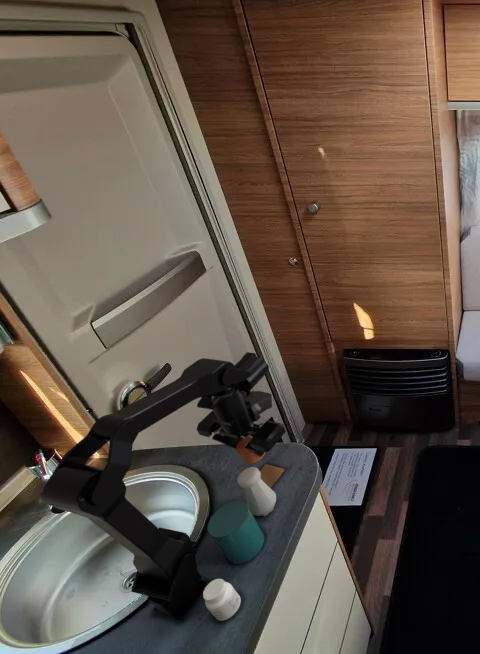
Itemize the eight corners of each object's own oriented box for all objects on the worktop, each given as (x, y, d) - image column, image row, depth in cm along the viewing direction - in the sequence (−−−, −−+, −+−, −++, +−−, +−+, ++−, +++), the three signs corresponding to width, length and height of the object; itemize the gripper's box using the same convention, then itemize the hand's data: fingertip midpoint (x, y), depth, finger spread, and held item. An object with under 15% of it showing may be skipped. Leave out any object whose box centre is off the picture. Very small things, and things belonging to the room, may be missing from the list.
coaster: (268, 490, 99) (268, 489, 99) (249, 485, 101) (248, 484, 100) (284, 470, 104) (284, 469, 104) (266, 464, 105) (265, 463, 105)
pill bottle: (237, 588, 82) (223, 569, 78) (244, 607, 80) (230, 589, 76) (212, 607, 80) (196, 588, 76) (218, 627, 77) (203, 609, 73)
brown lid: (255, 466, 95) (249, 455, 92) (236, 461, 96) (230, 450, 94) (271, 447, 99) (266, 436, 97) (253, 442, 100) (247, 432, 98)
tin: (247, 569, 85) (228, 541, 79) (219, 559, 87) (198, 531, 81) (272, 533, 91) (256, 505, 85) (245, 525, 93) (227, 497, 87)
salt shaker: (271, 520, 93) (253, 487, 87) (246, 520, 94) (226, 487, 87) (283, 495, 98) (266, 462, 92) (259, 495, 98) (241, 461, 92)
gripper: (292, 387, 93) (309, 433, 101) (224, 372, 97) (246, 417, 105) (255, 427, 84) (277, 473, 92) (182, 409, 88) (209, 454, 96)
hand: (253, 452), depth 97 cm, fingers closed on brown lid, 5 cm apart
